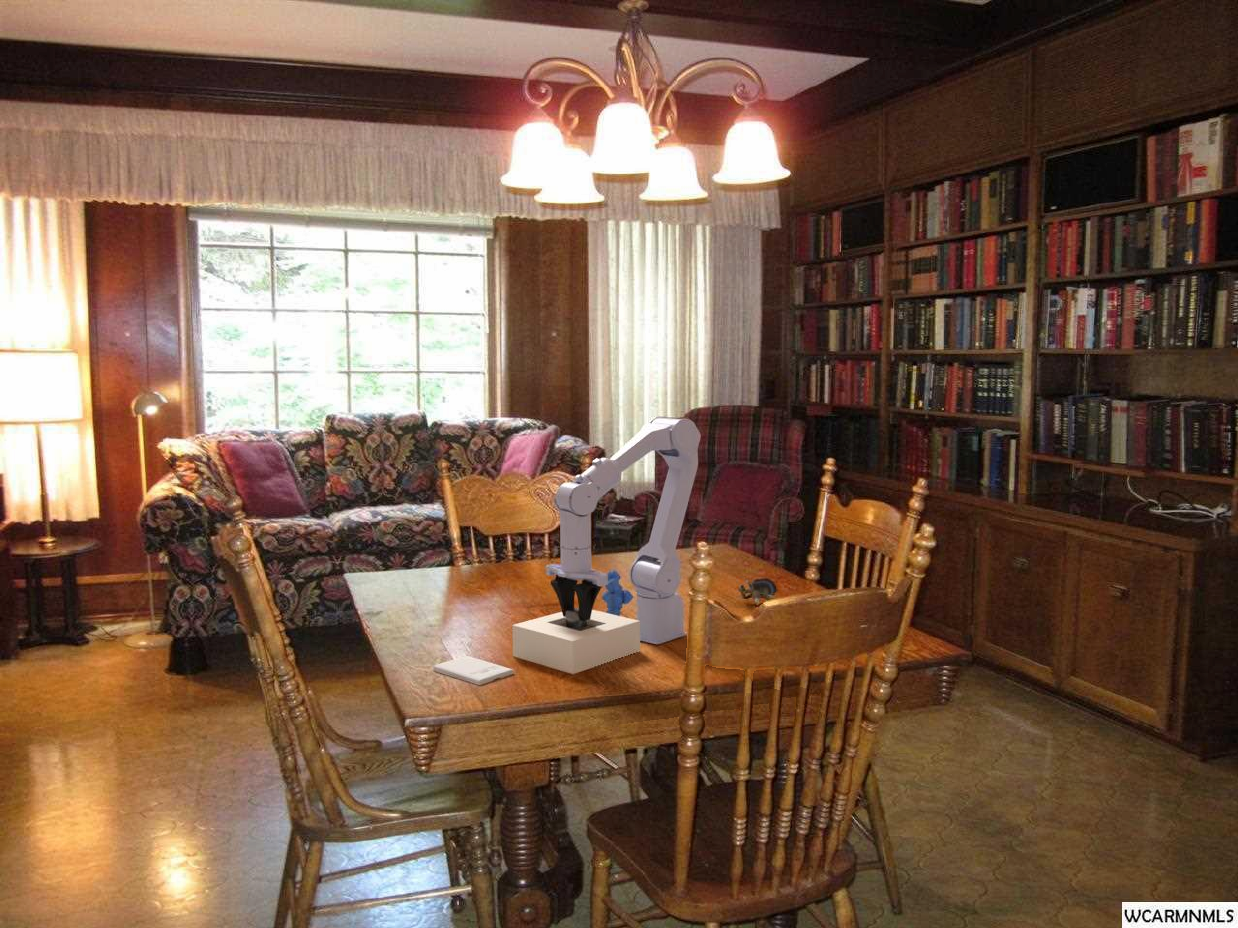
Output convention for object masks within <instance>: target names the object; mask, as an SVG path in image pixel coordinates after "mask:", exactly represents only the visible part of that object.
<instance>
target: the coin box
mask: <svg viewBox="0 0 1238 928" xmlns="http://www.w3.org/2000/svg"><path fill="white" fill-rule="evenodd" d="M511 626H512V628H511V629H512V656H513V657H515V658H517V659H522V660H525V661H527V662H531V663H535V664H537V665H541V666H544V667H548V668H551V669H553V670H558V671H561V672H564V673H567V674H571V675H574V674H578V673H580V672H584V671H586V670H589V669H593V668H596V667H599V666H601V664H602V665H605V664H607V662H608V663H610V661H611V662H613V660H614V661H616V660H615V659H617V660H619V659H618V658H620V659H621V657H623V658H625V656H626V657H629V656H631V655H630V654H632V655H634V654H633V653H635V654H637V653H636V652H638V653H640V652H641V641H640V621H639V620H637V619H633V618H630V617H626V616H617V615H613V614H609V613H605V612H604V611H600V610H594V609H592V613H591V617H590V619H589V620H587V626H586V627H583V628H569V627H566V617H564V616H563V614H562V611H560V612H556V613H552V614H549V615H545V616H544V615H543V616H541V617H538V618H534V619H529V620H526V621H522V622H519V623H514V624H512V625H511ZM639 651H640V652H639ZM628 655H629V656H628ZM604 663H605V664H604ZM598 665H599V666H598ZM595 666H596V667H595Z"/></svg>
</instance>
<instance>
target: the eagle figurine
mask: <svg viewBox="0 0 1238 928" xmlns="http://www.w3.org/2000/svg"><path fill="white" fill-rule="evenodd" d="M745 583H746V584H747V586H748V589H746V587H745V585H744V584H741V585H740V586H737V587H736V588H737V591H739V593H740V594H741V597H742V600H743V599H747V600H748V599H751V598H752V599H753V601H754V603H755V604H756V603H759V604H760V599H764V600H765V601H768V600H770V599H776V598H775V597H774V596H775V595H776V594H777V592H778V591H779V590H778V588H777V585H776V583H775V582H774V581H773V580H772V579H770V578H767V577H764V578H755V579H754V580H753V581H752V582H751V583H750V581H749V580H747V579H746V580H745ZM746 594H747V595H746Z"/></svg>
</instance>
